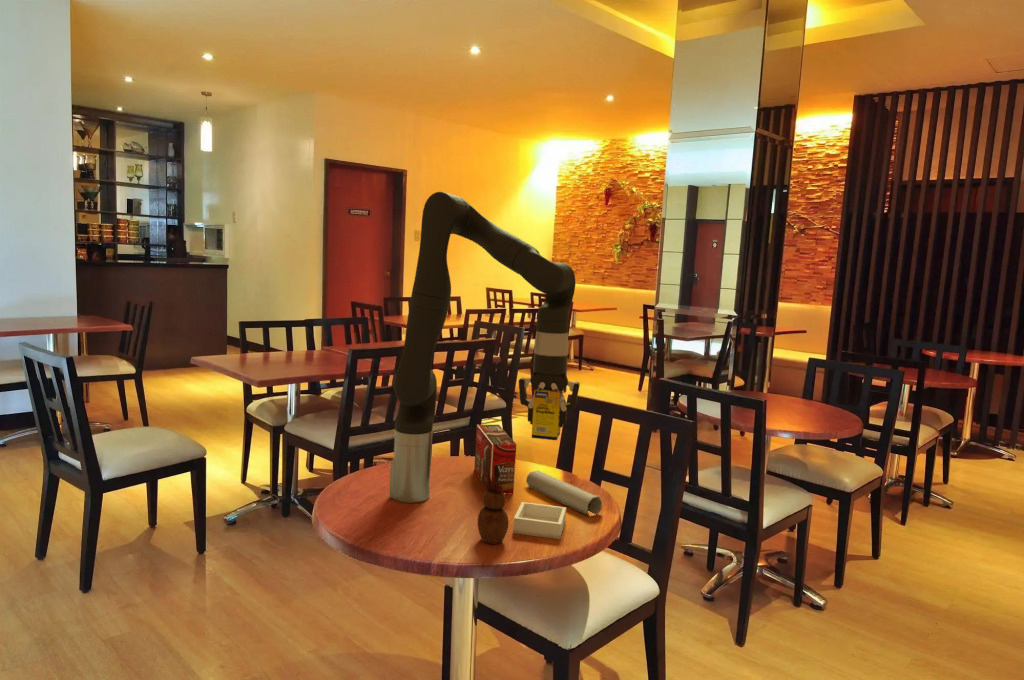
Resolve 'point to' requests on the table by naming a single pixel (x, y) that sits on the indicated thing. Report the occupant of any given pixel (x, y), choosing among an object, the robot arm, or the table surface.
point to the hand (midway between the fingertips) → (546, 424)
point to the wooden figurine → (493, 514)
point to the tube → (564, 493)
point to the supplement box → (546, 414)
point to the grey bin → (539, 520)
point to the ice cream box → (495, 456)
